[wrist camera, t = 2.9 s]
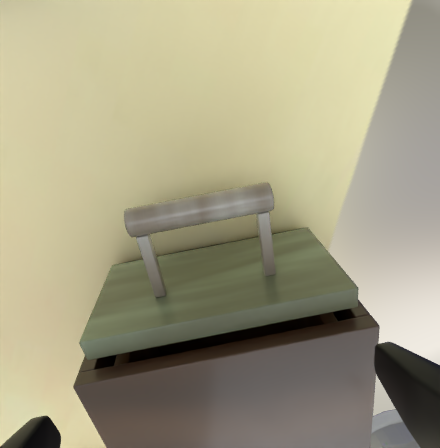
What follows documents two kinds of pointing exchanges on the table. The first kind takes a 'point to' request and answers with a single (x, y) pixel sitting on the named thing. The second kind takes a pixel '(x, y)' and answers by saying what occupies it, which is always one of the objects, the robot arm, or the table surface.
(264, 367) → the cabinet
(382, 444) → the french press
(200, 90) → the table surface
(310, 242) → the drawer
